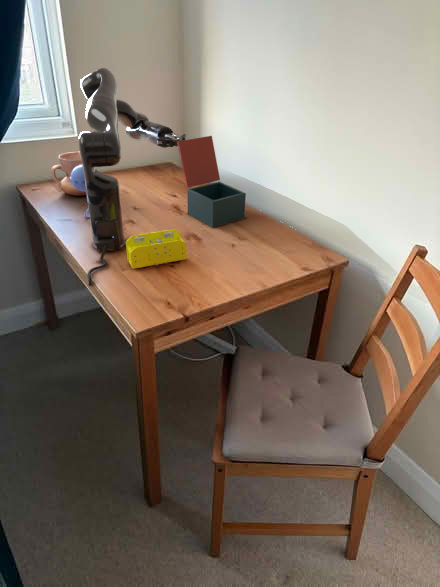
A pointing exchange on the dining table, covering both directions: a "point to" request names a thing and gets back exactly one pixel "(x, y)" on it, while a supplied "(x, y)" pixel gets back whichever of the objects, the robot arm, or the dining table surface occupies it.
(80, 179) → the baby rattle
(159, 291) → the dining table surface
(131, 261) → the yellow toy chassis
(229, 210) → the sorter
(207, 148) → the sorter lid
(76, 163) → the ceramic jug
